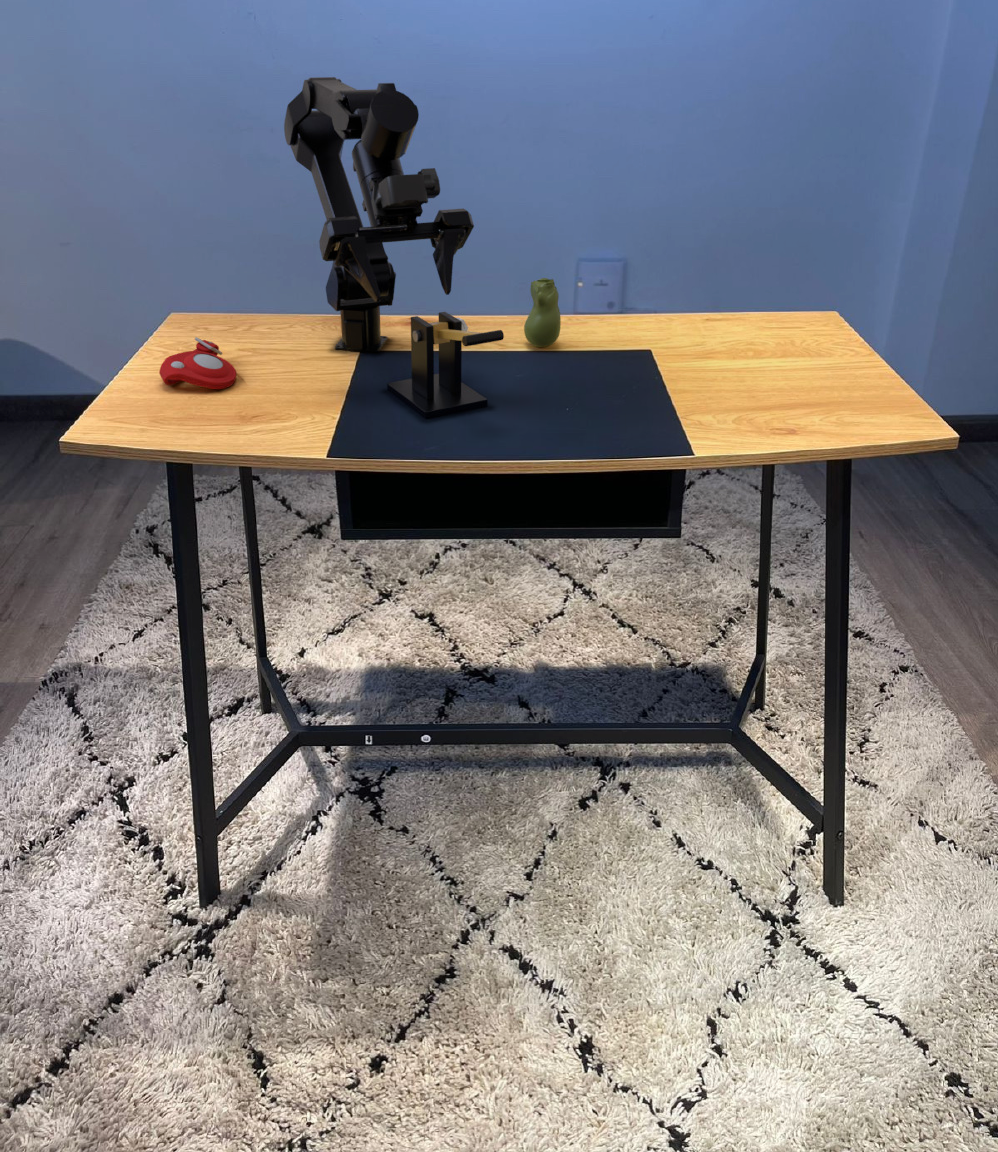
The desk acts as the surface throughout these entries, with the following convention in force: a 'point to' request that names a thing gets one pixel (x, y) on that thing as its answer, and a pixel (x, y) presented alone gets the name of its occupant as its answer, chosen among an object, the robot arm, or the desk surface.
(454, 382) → the latch bracket
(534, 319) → the green vase
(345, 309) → the robot arm
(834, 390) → the desk surface
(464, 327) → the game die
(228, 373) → the tracker holder
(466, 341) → the latch lever
